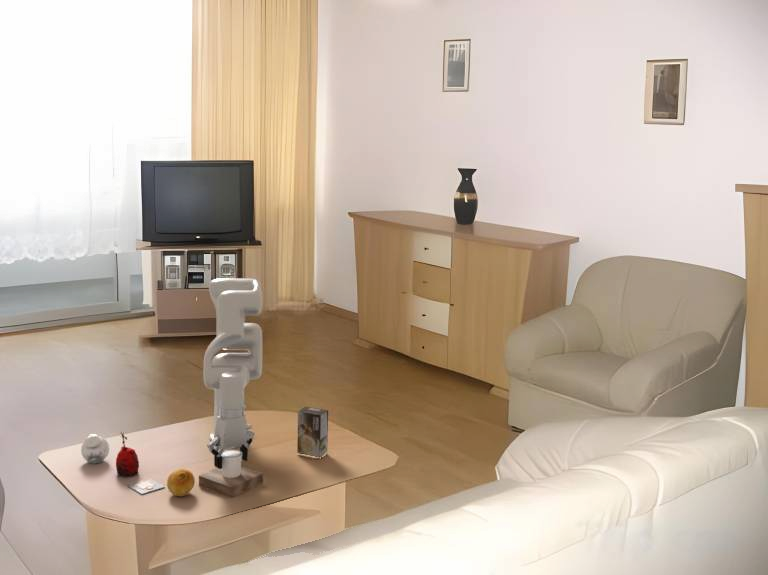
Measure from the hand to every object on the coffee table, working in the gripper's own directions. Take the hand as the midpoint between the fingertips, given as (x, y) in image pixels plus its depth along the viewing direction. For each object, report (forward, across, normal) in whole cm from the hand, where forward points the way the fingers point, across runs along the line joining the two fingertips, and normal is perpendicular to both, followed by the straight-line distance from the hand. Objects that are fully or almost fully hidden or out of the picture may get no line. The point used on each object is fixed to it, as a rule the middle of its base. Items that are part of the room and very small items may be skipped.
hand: (231, 463), depth 277 cm
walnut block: (+8, 0, 0) cm, 8 cm away
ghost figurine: (+7, +23, -43) cm, 49 cm away
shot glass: (+4, 0, 0) cm, 4 cm away
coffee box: (+7, -36, -2) cm, 37 cm away
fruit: (+7, +16, -4) cm, 18 cm away
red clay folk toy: (+7, +20, -28) cm, 35 cm away
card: (+7, +21, -15) cm, 27 cm away
